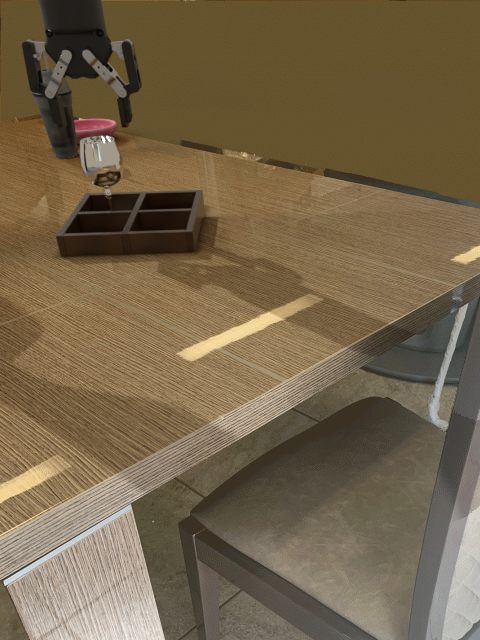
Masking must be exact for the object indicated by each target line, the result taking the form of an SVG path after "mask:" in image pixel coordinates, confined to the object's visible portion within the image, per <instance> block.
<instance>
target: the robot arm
mask: <svg viewBox="0 0 480 640" xmlns="http://www.w3.org/2000/svg"><path fill="white" fill-rule="evenodd" d="M37 1H38V6H39V10H40V15H41V20H42V25H43V29H44V33H45V41H37V40H35V39H33V38H29V39H27V40H24V41H23V42H22V44H21V48H22V55H23V59H24V64H25V69H26V76H27V80H28V86H29V90H30V91H31V92H32V94H33V93H39V94H41V95H44V96H45V97H46V98H47V100H48V104H49V108H50V113H51V117H52V120H53V122H54V124H58V127H59V128H65V127H66V126H67V121H66V117H65V112H64V108H63V103H62V98H61V96H59V95H58V93H59V90H60V88H61V86H62V84H63V82H64V81H65V79H66V80H67V77H68V78H70V79H71V80H78V79H81V78H86V79H89V80H92V79H93V80H95V79H98V78H99V77H100V78H101V79H102V80H103V81H104V82H105V84H107V85H108V86H109V87H110V88H111V89H112V90H113V91H114V92H115V94H116V95H117V98H116V102H117V107H118V114H119V121H120V126H121V128H127V129H128V127H129V126H130V123H132V121H133V112H132V103H131V99H130V98H131V97H130V96H131V95H133V94H135V93H138V92H139V91H140V90H141V89H142V85H143V83H142V78H141V74H140V68H139V64H138V59H137V54H136V48H135V43H134V42H133V40H132V39H131V38H126V39H124V40H119V41H111V39H110V37H109V35H108V32H107V26H106V21H105V15H104V14H105V13H104V9H103V4H102V0H37ZM44 51H46V54H47V56H48V57H50V59H51V61H53V62H54V63H55V64H56V65H55V67H54V69H53V70H54V72H53V74H52V76H51V79H50V82H49V84H46V83H43V77H42V72H41V70H42V65H41V60H43V58H44ZM113 52H115V53H116V54H117V56H118V58H119V59H120V60H121V61H124V66H125V69H126V74H127V79H128V82H127V83H126V82H125V81H124V80H123V79H122V78H121V77H120V75H119V73H118V71H117V70H116V69H115V68H114V67H113V66H112V65H111V63H110V62H109V61H110V59H111V56H112V54H113Z"/></svg>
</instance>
